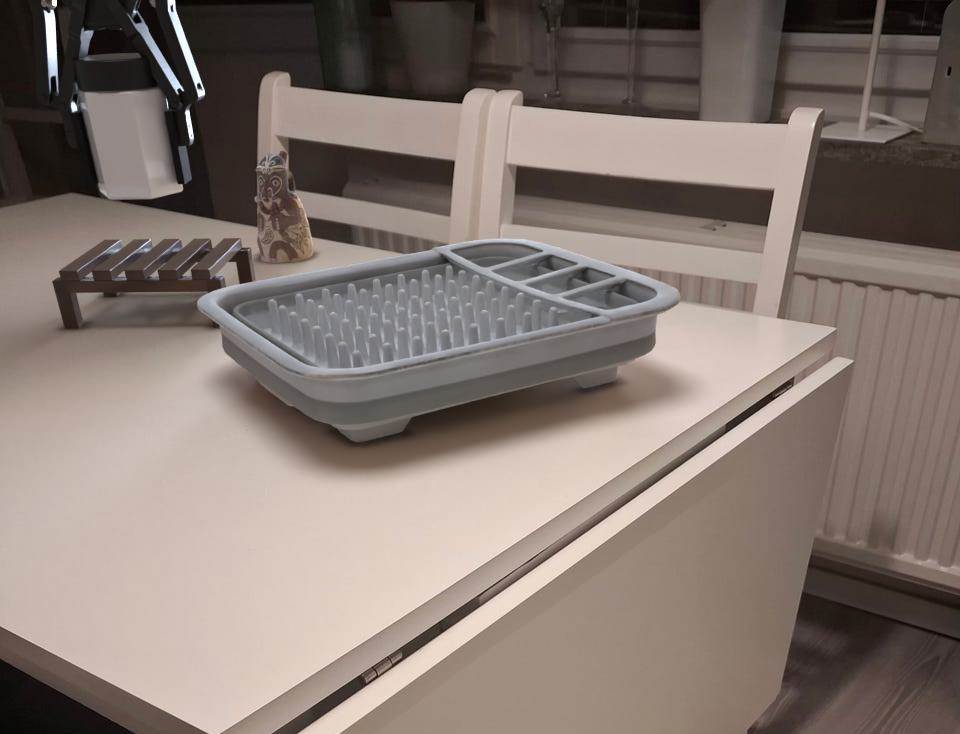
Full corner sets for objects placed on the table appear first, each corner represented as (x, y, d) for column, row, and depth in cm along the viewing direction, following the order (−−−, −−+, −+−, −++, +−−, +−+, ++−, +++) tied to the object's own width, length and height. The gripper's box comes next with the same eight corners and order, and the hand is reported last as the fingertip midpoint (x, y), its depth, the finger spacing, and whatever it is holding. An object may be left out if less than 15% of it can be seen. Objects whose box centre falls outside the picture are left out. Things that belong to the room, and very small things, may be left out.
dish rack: (193, 368, 98) (176, 281, 93) (513, 306, 112) (513, 228, 107) (322, 483, 76) (309, 378, 71) (699, 389, 90) (709, 295, 85)
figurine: (247, 260, 131) (231, 155, 124) (283, 248, 136) (270, 147, 128) (289, 266, 128) (276, 159, 121) (324, 254, 133) (313, 150, 125)
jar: (193, 184, 109) (170, 51, 102) (172, 199, 103) (146, 59, 95) (113, 185, 110) (84, 53, 102) (87, 200, 103) (54, 61, 96)
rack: (64, 330, 109) (49, 271, 105) (108, 294, 120) (95, 239, 116) (228, 329, 108) (218, 269, 104) (257, 293, 119) (249, 237, 115)
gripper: (210, -97, 94) (249, 174, 108) (-15, -90, 95) (52, 177, 109) (187, -99, 88) (232, 187, 102) (-52, -92, 89) (24, 191, 103)
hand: (139, 182), depth 106 cm, fingers closed on jar, 9 cm apart
